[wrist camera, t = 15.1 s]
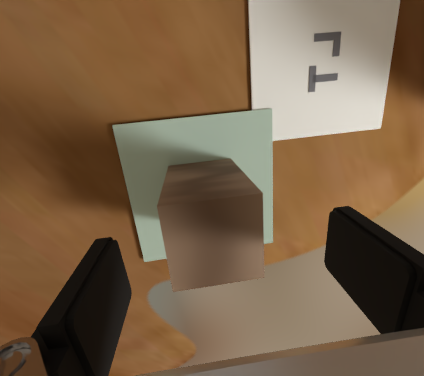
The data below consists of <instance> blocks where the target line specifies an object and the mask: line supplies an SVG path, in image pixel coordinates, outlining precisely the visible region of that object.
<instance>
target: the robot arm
mask: <svg viewBox="0 0 424 376" xmlns="http://www.w3.org/2000/svg"><path fill="white" fill-rule="evenodd" d="M324 262H325V265H326V268H327V269H328V271H329V272H330V273H331V274H332V275H333V277H334V278H335V279H336V280H337V281H338V283H339V284H340V285H341V286H342V287H343V289H344V290H345V291H346V292H347V294H348V295H349V296H350V297H351V298H352V299H353V301H354V302H355V303H356V304H357V305H358V307H359V308H360V309H361V310H362V312H363V313H364V314H365V315H366V316H367V318H368V319H369V320H370V321H371V322H372V324H373V325H374V326H375V327H376V328H377V330H378V331H379V332H380V333H381V334H380V335H375V336H368V337H361V338H355V339H349V340H343V341H338V342H337V341H336V342H330V343H324V344H318V345H312V346H306V347H300V348H294V349H288V350H282V351H276V352H270V353H264V354H258V355H252V356H246V357H240V358H234V359H228V360H222V361H216V362H211V363H205V364H199V365H193V366H188V367H181V368H176V369H170V370H164V371H158V372H152V373H147V374H141V375H136V376H424V254H422V253H421V252H419V251H417V250H416V249H414V248H413V247H411V246H410V245H408V244H407V243H405V242H404V241H402V240H401V239H399V238H397V237H396V236H394V235H393V234H391V233H390V232H388V231H387V230H385V229H383V228H382V227H380V226H379V225H377V224H376V223H374V222H373V221H371V220H370V219H368V218H367V217H365V216H364V215H362V214H361V213H359V212H358V211H356V210H354V209H353V208H351V207H349V206H344V207H337V208H334V209H333V211H331V212H330V214H329V223H328V232H327V241H326V250H325V260H324ZM130 299H131V287H130V283H129V280H128V276H127V273H126V269H125V266H124V262H123V259H122V256H121V252H120V249H119V245H118V242H117V240H113V239H112V238H111V237H108V238H100V239H96V240H95V241H94V242H93V244H92V245H91V247H90V248H89V250H88V251H87V253H86V254H85V256H84V257H83V259H82V260H81V262H80V263H79V265H78V266H77V268H76V269H75V271H74V272H73V274H72V275H71V277H70V278H69V280H68V281H67V283H66V284H65V286H64V287H63V289H62V290H61V292H60V293H59V294H58V296H57V297H56V299H55V300H54V302H53V303H52V305H51V306H50V308H49V309H48V311H47V312H46V314H45V315H44V317H43V318H42V320H41V321H40V323H39V324H38V326H37V329H36V330H35V332H34V333H33V335H32V336H31V337H21V338H18V339H15V340H12V341H10V342H8V343H6V344H4V345H2V346H1V347H0V376H108V375H109V371H110V368H111V364H112V361H113V357H114V354H115V351H116V347H117V344H118V340H119V337H120V334H121V330H122V327H123V323H124V320H125V316H126V313H127V310H128V306H129V303H130Z"/></svg>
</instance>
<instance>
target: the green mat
mask: <svg viewBox="0 0 424 376" xmlns="http://www.w3.org/2000/svg"><path fill="white" fill-rule="evenodd" d="M112 127H113V131H114V136H115V140H116V144H117V148H118V153H119V157H120V161H121V165H122V169H123V174H124V178H125V182H126V186H127V191H128V195H129V199H130V203H131V207H132V212H133V216H134V220H135V224H136V228H137V233H138V237H139V241H140V245H141V250H142V254H143V258H144V262H147V261H154V260H160V259H167V257H166V252H165V247H164V242H163V236H162V231H161V226H160V220H159V215H158V210H157V204H158V201H159V197H160V194H161V190H162V187H163V183H164V180H165V176H166V173H167V169H168V166H170V165H178V164H187V163H196V162H205V161H213V160H222V159H232V160H233V161H234V162H235V164H236V165H237V166H238V167H239V168H240V169H241V170H242V171H243V172H244V173H245V174H246V175H247V176H248V178H249V179H250V180H251V181H252V182H253V183H254V184H255V185H256V186H257V187H258V188H259V189H260V190H261V191H262V193H263V227H264V244H267V243H273V154H272V109H262V110H252V111H242V112H232V113H223V114H213V115H204V116H194V117H184V118H175V119H165V120H156V121H146V122H137V123H127V124H117V125H112Z"/></svg>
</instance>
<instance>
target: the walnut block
mask: <svg viewBox="0 0 424 376" xmlns="http://www.w3.org/2000/svg"><path fill="white" fill-rule="evenodd" d="M157 210H158V215H159V220H160V226H161V231H162V236H163V242H164V247H165V252H166V257H167V263H168V268H169V273H170V278H171V284H172V289H173V292H176V291H182V290H188V289H195V288H201V287H208V286H214V285H221V284H227V283H233V282H240V281H246V280H252V279H258V278H264V227H263V193H262V191H261V190H260V189H259V188H258V187H257V186H256V185H255V184H254V183H253V182H252V181H251V180H250V179H249V178H248V176H247V175H246V174H245V173H244V172H243V171H242V170H241V169H240V168H239V167H238V166H237V165H236V164H235V162H234V161H233V160H232V159H222V160H213V161H205V162H196V163H187V164H178V165H170V166H168V169H167V173H166V176H165V180H164V183H163V187H162V190H161V194H160V197H159V201H158V204H157Z"/></svg>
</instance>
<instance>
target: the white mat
mask: <svg viewBox="0 0 424 376" xmlns="http://www.w3.org/2000/svg"><path fill="white" fill-rule="evenodd" d="M399 6H400V0H248V17H249V46H250V75H251V105H252V110H262V109H272V141H276V140H285V139H293V138H302V137H311V136H319V135H328V134H337V133H345V132H354V131H363V130H371V129H380V128H381V124H382V117H383V111H384V104H385V98H386V91H387V85H388V78H389V71H390V65H391V58H392V52H393V45H394V39H395V32H396V26H397V19H398V13H399Z"/></svg>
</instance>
